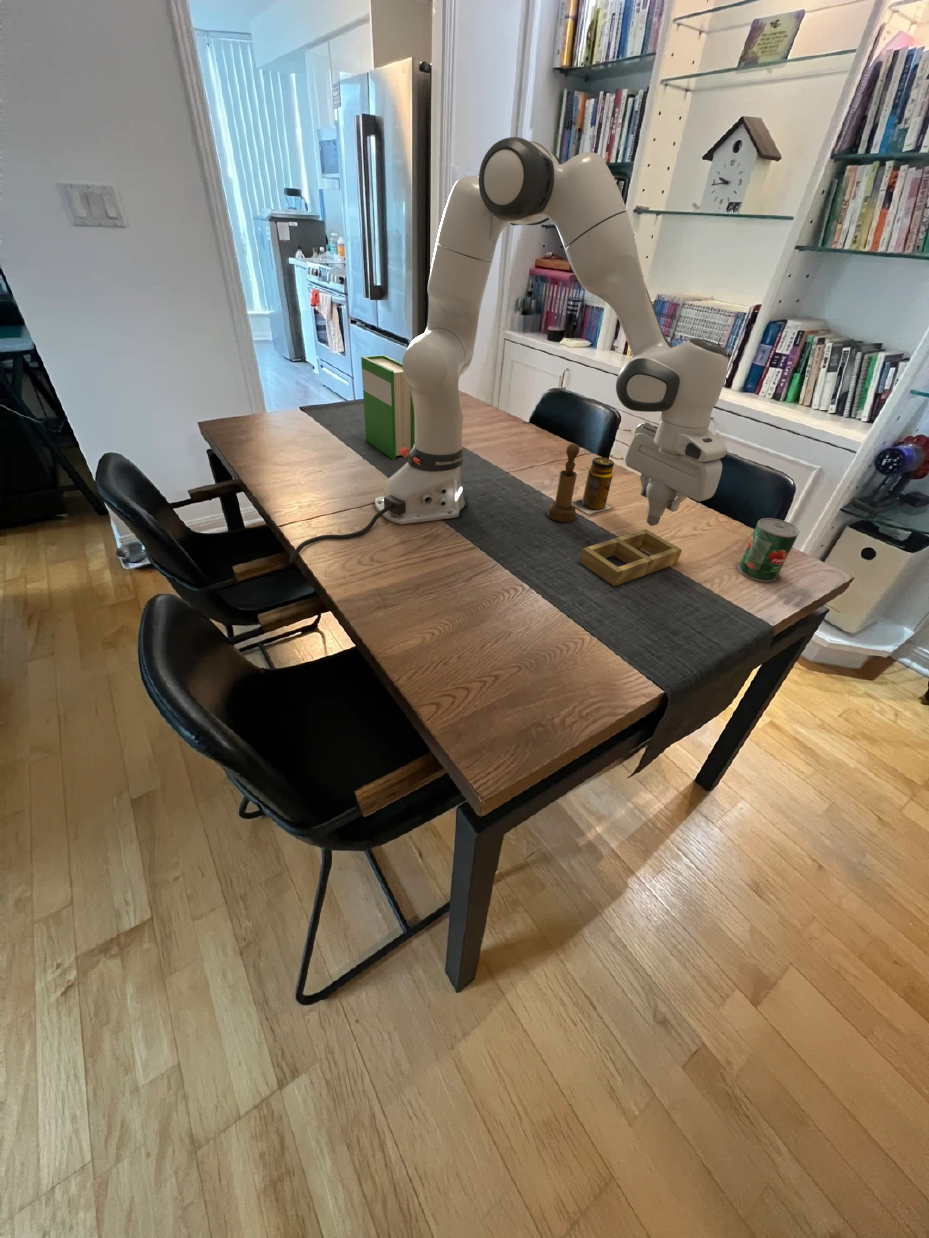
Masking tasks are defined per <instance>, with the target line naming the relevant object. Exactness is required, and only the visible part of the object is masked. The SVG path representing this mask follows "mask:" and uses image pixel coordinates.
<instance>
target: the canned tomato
mask: <svg viewBox="0 0 929 1238" xmlns="http://www.w3.org/2000/svg"><path fill="white" fill-rule="evenodd" d="M799 534H800V529H799V528H798V527H797V526H796V525H794V524H792V523H790V522H788V521H785V520H782V519H778V518H773V517H765V518H761V519H759V520H758V521H757V523H756V526H755V528H754V530H753V532H752V535H751V537H750V539H749V542H748V543H747V546H746V548H745V550H744V553H743V555H742V557H741V560H740V561H739V563H738V566H737V569H738V571H739V572H740V573H741V574H742V575H743V576H745V577H746V578H748V579H751V580H753V581H756V582H762V583H771V582H775V581H776V580H777V579H778V575H779V574H780V572H781V570H782V568H783V566H784V564H785V562H786V560H787V558H788V556H789V554H790V553H791V550H792V549H793V546H794V545H795V543H796V540H797V538H798V536H799Z"/></svg>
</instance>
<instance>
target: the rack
mask: <svg viewBox="0 0 929 1238" xmlns="http://www.w3.org/2000/svg"><path fill="white" fill-rule="evenodd" d="M641 547H643V548H644V549H646V550H648V551H649V552H651V553H652V554H653V555H652V554H651V555H649V556H648V555H647V554H645V553H643V552H642V551H640V550H639V549H638V548H641ZM682 551H683V549H682V548H680V547H678V546H676V545H674V544H673V543H671V542H670V541H668V540H666V539H664V538H662V537H660V536H659V535H658V534H655V533H654V532H652V531H651V530H648V529H647V528H645V529H642V530H638V531H635V532H632V533H628V534H625V535H622V536H619V537H615V538H612V539H609V540H605V541H602V542H598V543H595V544H593V545H589V546H586V547H583V548H582V550H581V554H580V555H581V556H580V558H579V563H580V564H581V565H583V566H584V567H585V568H587V569H588V570H590V572H593V573H594V574H596V575H597V576H598V577H600V578H601V579H602V580H604V581H606V582H607V583H608V584H610V585H612V586H613V587H616V586H617V587H618V586H619V585H622V584H625V583H627V582H631V581H633V580H636V579H638V578H641V577H644V576H646V575H649V574H652V573H655V572H658V571H660V570H663V569H666V568H668V567H671V566H674V565H676V564H678V562H679V560H680V556H681V553H682ZM611 557H616V558H617V559H619V560H620V561H622V562H624V563H625V564H623V565H620V566H617V565H616V564H614V563H612V562H611V561H610V560H608V558H611Z"/></svg>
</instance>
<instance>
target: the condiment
mask: <svg viewBox="0 0 929 1238" xmlns="http://www.w3.org/2000/svg"><path fill="white" fill-rule="evenodd" d="M614 465H615V463H614V461H613V460H612V459H610V458H608V457H601V456H598V457H595V458H593V459H592V461H591V465H590V468H589V469H588V472H587V477H586V482H585V485H584V491H583V496H582V499H578V500H575V501H574V500H573V501H572V502H571V504H572V505H573V507H574V508H575V509H578V510H579V511H581V512H583V513H584V514H586V515H591V514H596V513H600V512H604V511H607V510H610V509H613V507H612V506H610V505H608V504H607V501H608V497H609V492H610V490H611V489H610V488H611V484H612V480H613V477H614V473H613V471H614Z"/></svg>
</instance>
